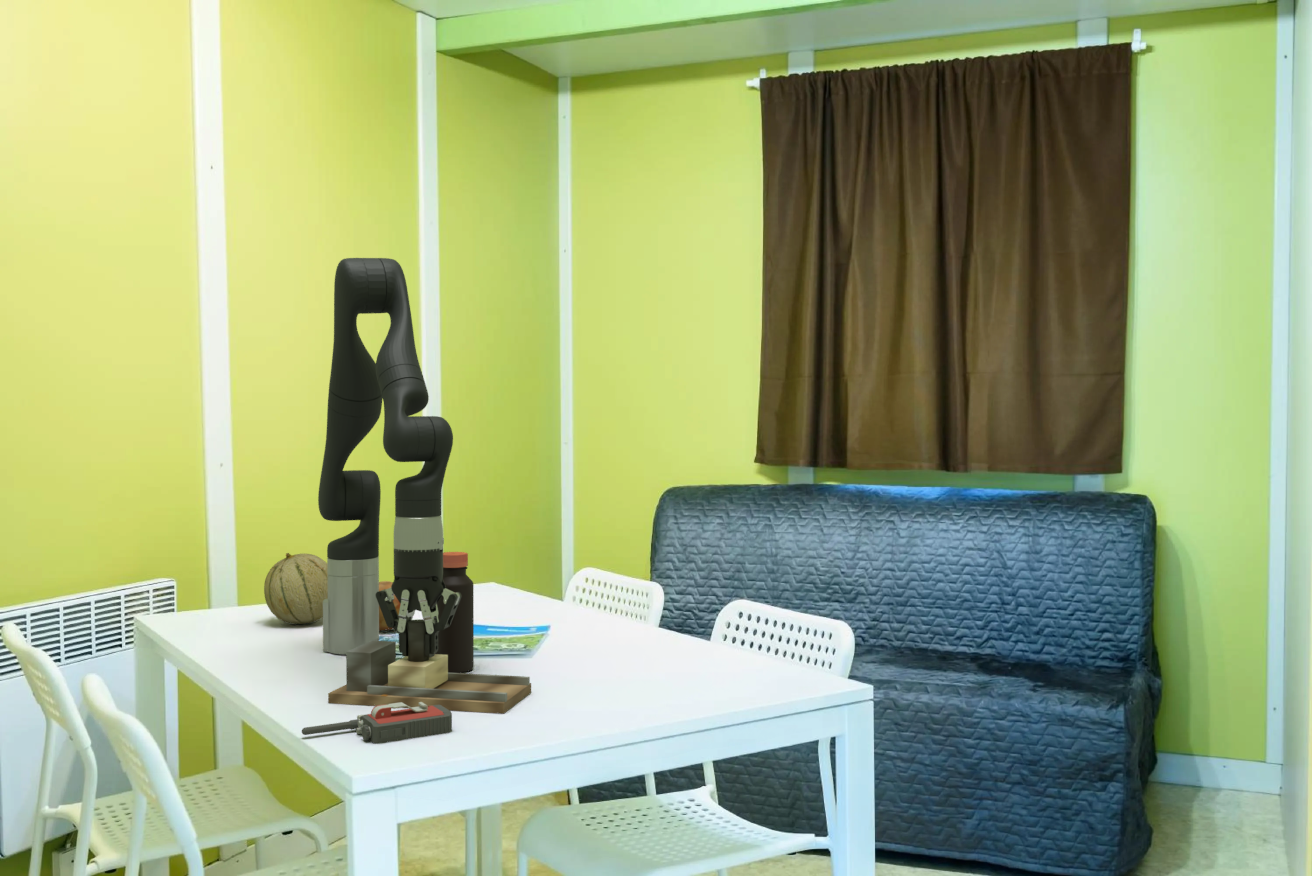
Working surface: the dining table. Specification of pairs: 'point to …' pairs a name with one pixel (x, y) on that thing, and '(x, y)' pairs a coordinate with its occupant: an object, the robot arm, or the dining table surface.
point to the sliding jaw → (418, 662)
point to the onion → (382, 622)
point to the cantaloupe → (297, 588)
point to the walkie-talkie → (394, 723)
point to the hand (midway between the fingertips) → (418, 655)
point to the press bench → (454, 694)
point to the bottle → (457, 615)
